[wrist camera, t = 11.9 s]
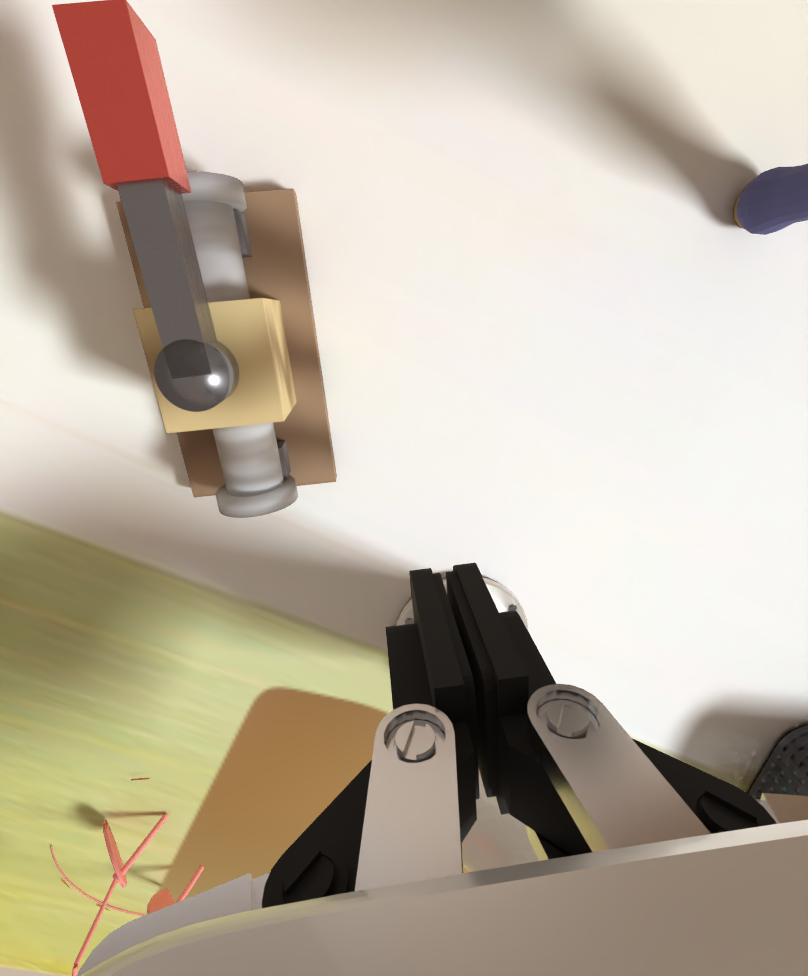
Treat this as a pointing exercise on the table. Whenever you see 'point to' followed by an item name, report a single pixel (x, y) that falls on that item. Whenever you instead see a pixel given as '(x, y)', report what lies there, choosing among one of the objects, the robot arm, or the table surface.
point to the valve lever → (148, 190)
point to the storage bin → (785, 767)
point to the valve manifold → (250, 351)
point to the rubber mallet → (773, 200)
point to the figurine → (157, 900)
